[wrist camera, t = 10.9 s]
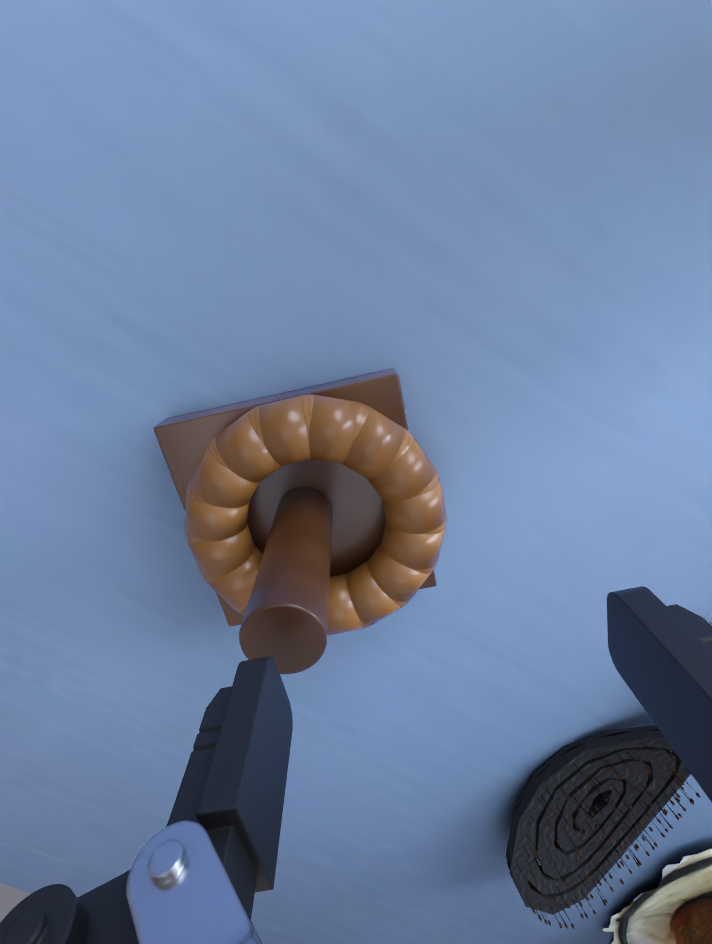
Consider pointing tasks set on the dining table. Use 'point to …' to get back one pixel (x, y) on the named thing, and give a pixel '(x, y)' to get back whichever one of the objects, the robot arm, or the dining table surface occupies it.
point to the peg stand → (295, 523)
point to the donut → (333, 440)
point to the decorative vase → (671, 907)
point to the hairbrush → (589, 814)
